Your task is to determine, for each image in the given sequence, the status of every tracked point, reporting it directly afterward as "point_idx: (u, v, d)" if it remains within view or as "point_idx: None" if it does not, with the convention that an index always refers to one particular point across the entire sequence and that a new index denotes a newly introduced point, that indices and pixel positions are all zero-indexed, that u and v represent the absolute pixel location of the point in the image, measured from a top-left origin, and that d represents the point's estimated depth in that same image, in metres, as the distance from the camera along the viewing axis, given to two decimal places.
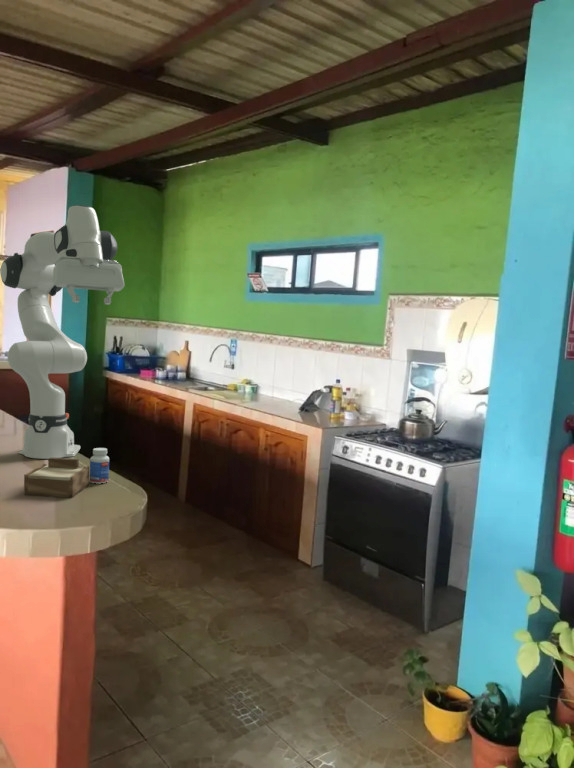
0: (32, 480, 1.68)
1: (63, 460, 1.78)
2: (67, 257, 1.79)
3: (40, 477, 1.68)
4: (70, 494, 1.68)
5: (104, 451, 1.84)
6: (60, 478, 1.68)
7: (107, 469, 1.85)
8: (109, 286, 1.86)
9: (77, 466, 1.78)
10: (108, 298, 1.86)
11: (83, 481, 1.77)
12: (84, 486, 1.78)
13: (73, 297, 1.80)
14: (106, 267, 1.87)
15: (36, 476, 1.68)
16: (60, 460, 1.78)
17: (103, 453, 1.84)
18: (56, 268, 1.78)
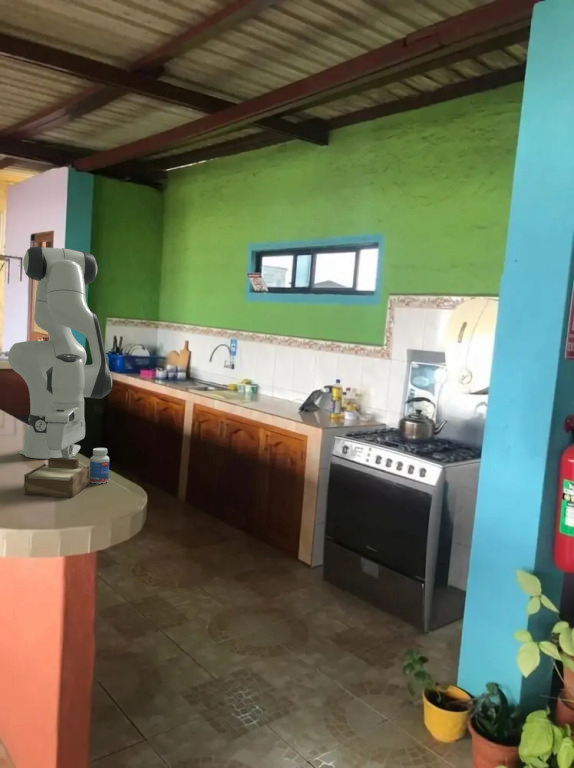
0: (32, 480, 1.68)
1: (63, 460, 1.77)
2: (68, 422, 1.72)
3: (40, 477, 1.68)
4: (70, 494, 1.68)
5: (104, 451, 1.84)
6: (60, 478, 1.68)
7: (107, 469, 1.85)
8: (79, 440, 1.85)
9: (77, 466, 1.78)
10: (71, 455, 1.81)
11: (83, 481, 1.77)
12: (84, 486, 1.78)
13: (66, 456, 1.79)
14: (79, 420, 1.84)
15: (36, 476, 1.68)
16: (60, 460, 1.77)
17: (103, 453, 1.84)
18: (57, 434, 1.70)
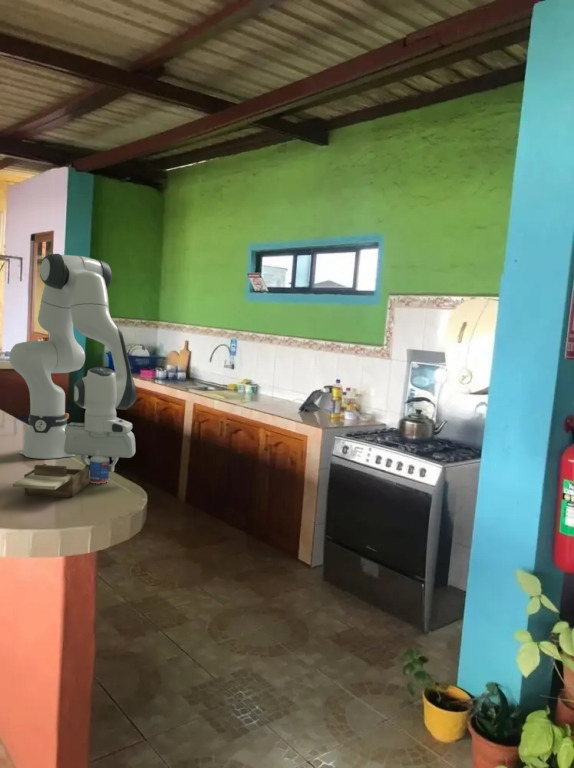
0: None
1: (50, 467, 1.68)
2: None
3: (25, 486, 1.59)
4: (70, 494, 1.68)
5: None
6: (46, 487, 1.59)
7: (107, 469, 1.85)
8: None
9: (65, 474, 1.69)
10: None
11: (83, 481, 1.77)
12: (84, 486, 1.78)
13: (113, 467, 1.86)
14: None
15: (20, 485, 1.59)
16: (47, 467, 1.68)
17: None
18: (134, 440, 1.86)
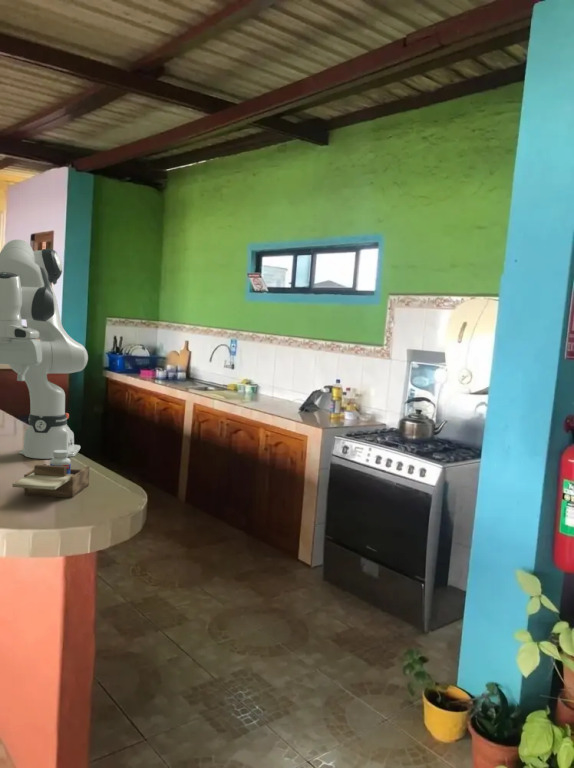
0: None
1: (50, 467, 1.68)
2: None
3: (25, 486, 1.59)
4: (70, 494, 1.68)
5: (65, 453, 1.75)
6: (46, 487, 1.59)
7: (68, 472, 1.76)
8: None
9: (65, 474, 1.69)
10: None
11: (83, 481, 1.77)
12: (84, 486, 1.78)
13: (23, 376, 1.79)
14: None
15: (20, 485, 1.59)
16: (47, 467, 1.68)
17: (64, 455, 1.75)
18: (40, 348, 1.79)
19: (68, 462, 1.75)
